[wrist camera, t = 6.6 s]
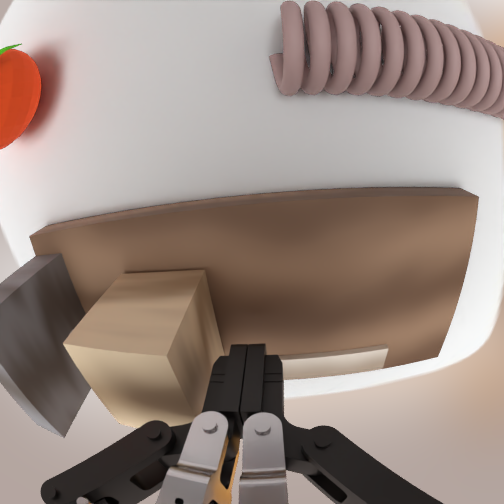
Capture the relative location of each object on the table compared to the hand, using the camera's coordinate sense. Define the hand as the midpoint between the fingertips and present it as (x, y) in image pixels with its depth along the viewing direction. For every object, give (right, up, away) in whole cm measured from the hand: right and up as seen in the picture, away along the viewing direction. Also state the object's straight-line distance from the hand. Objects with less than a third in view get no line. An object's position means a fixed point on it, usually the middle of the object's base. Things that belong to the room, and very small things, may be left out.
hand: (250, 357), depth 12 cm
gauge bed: (-1, +2, +5) cm, 6 cm away
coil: (+10, +15, -1) cm, 18 cm away
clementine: (-15, +16, 0) cm, 22 cm away
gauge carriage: (-6, 0, +4) cm, 7 cm away
